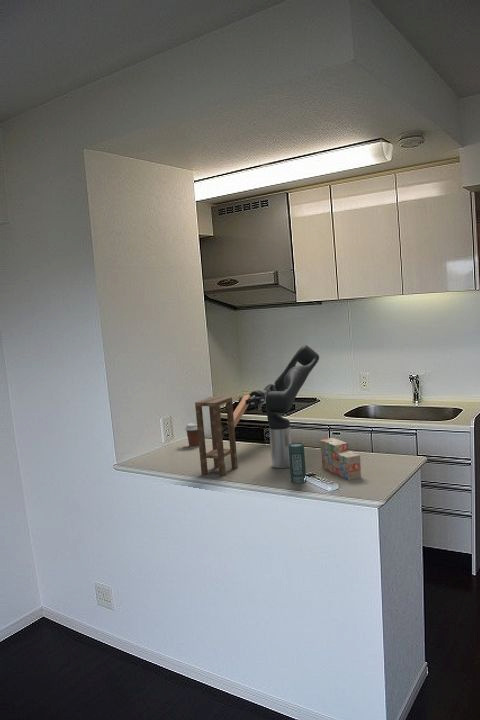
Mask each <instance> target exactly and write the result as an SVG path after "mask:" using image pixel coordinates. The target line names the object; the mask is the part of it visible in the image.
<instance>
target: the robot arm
mask: <svg viewBox="0 0 480 720" xmlns="http://www.w3.org/2000/svg"><path fill="white" fill-rule="evenodd" d="M319 360H320V355H319V353H318V352H316V351H315V350H314V349H313V348H311V347H310V346H308V345H307V344H304V345H302V346H301V347H300V348H298V350H297V351H296V353H295V354H294V355H293V356H292V358H291V360H290V361H289V363H288V364H287V365H286V367H285V369H284V370H283V371H282V372H281V374H280V375H279V376H278V377H277V378H276V379H275V381H274V384H273V383H269V384H266V386H265V387H264V388H263V389H258V390H254V391H251V392H249V394H248V395H250V397H251V398H250V399H247V400H245V402H246V404H249V405H252V406H253V407H258V406H262V405H264V404H265V409H266V416H267V423H268V430H269V432H268V433H269V444H270V456H271V467H272V468H275V469H287V468H289V469H290V461H289V448H288V445H289V444H291V443H292V435H291V421H290V420H289V419H288V418H286V417H283V416H282V415H280V413H288V412H289V411H291V408H292V407H293V405H294V402H295V400H296V397H297V395H298V393H299V391H300V390H301V388H302V387H303V385H304V384H305V382H306V380H307V379H308V377H309V374H311V372H312V370H313V369H314V368H315V366H317V364H318V362H319ZM297 363H299V364H300V365H297ZM243 397H244V396H240V397H239V398H238V404H239V403H240V402H241V400H242V398H243Z"/></svg>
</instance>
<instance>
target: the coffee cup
mask: <svg viewBox="0 0 480 720" xmlns="http://www.w3.org/2000/svg"><path fill="white" fill-rule="evenodd" d="M184 430H185V431H186V434H187V435H186V437H187V440H188V447H189V448H190V449H199V441H198V430H197V422H190V423H187V424H186V426H185V427H184Z"/></svg>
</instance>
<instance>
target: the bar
mask: <svg viewBox="0 0 480 720" xmlns="http://www.w3.org/2000/svg"><path fill="white" fill-rule="evenodd" d="M242 397H243V398H242V400H241V402H240V403H239V402H238V405H237V406H236V408H235V409H234V410H233V416H234V428H236V426H237V425H238V424H239V422H240V420H241V418H242V417H243V415H244V413H245V412H246V410H247V409H248V407H249V405H250V404H246V402H245V400H247V399H250V398H251V397H250V395H249V394H244V395H243V396H242ZM226 424H227V425H228V421H227V422H226Z"/></svg>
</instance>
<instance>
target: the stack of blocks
mask: <svg viewBox="0 0 480 720" xmlns="http://www.w3.org/2000/svg"><path fill="white" fill-rule="evenodd" d="M319 441H320V453H321V466H322V468H324V469H326V470H327V471H329V472H331V473H333V474H336V475H338V476H340V477H341V478H344V479H346V480H347V481H349V480H354V479H359V478H361V477H362V472H361V471H362V468H361V466H362V465H361V455H360V454H359V453H356V452H354V451H351V450H349V449H348V446H349V445H348V442H345V441H342V440H341V439H337V438H335V437H328V438H325V439H320V440H319Z"/></svg>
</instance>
